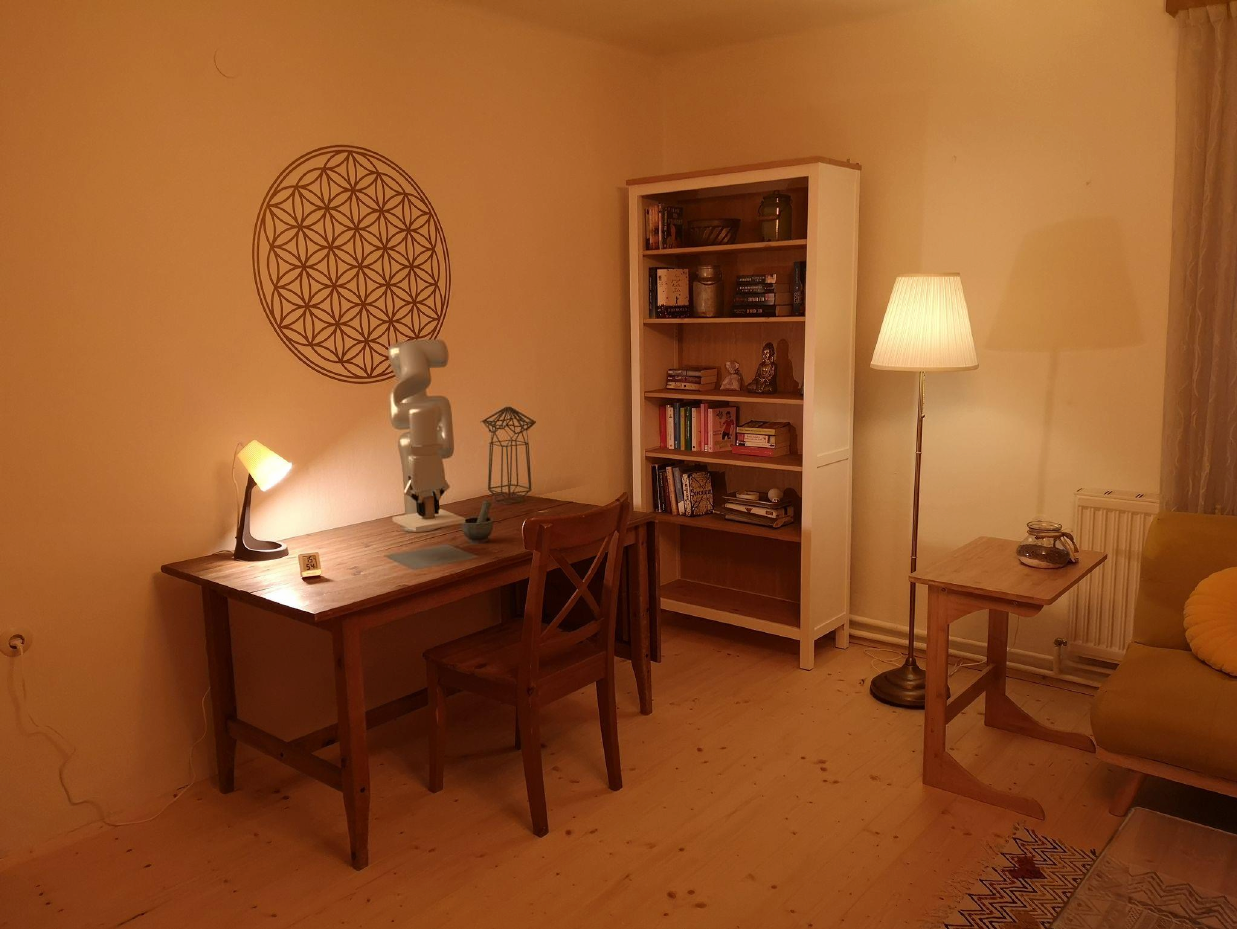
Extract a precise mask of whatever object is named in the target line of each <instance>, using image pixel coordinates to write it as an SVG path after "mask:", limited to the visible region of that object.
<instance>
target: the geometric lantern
mask: <svg viewBox="0 0 1237 929" xmlns="http://www.w3.org/2000/svg"><path fill="white" fill-rule="evenodd" d="M503 415H504V416H503ZM495 416H496V417H495ZM493 417H495V418H494V419H493V420H490V419H492V418H493ZM508 417H509V418H508ZM501 418H502V419H501ZM526 419H527V420H528V421H527V420H526ZM514 420H515V421H516V422H517V424H518V425H516V424H515V421H514ZM498 422H501V423H500V424H498ZM510 422H512V424H510ZM521 422H522V423H521ZM480 423H482V424H484V426H485V427H486V428H487V429H488V432H489V433H491V434H492V435H491V439H490V442H488V444H489V453H488V454H489V455H488V476H487V477H488V481H487V490H488V491H489V492H490V493H491V494H492V495H493V496H494V502H495V503H497V504H503V505H512V504H518V503H523V502H525V497H526V496H527V495H528V494H529V493H530V492H532V478H531V477H532V476H531V460H530V459H531V458H530V443H529V435H528V431H529V430H530V429H531V428H532V427H533V426H534V425H535V424H536V423H537V421H536V420H534V419H532V418H530V417H529V416H527V415H525V414H524V413H522V412H521V411H518V410H517V409H516V408H514V407H512V406H504V407H502V408H501V409H500V410H498V411H496V412H494V413H493V414H491V415H489V416H487V417H486V418H484V419H483V420H480ZM504 423H505V425H504ZM525 426H526V427H525ZM506 427H507V428H508V430H510V431H511V432H512V434H513V435H512V437H511V435H510V434H509V433H508V430H506ZM511 427H513V428H511ZM516 428H520V430H519V431H518V432H516ZM499 430H504V431H505V433H506V434H507V435H508V436H509V438H510V439H506V440H500V439H499V437H498V435H497V432H498V431H499ZM524 432H526V438H525V436H524ZM515 435H516V437H515V439H513V438H514V436H515ZM520 435H521V436H522V439H523V441H522V440H518V437H519V436H520ZM495 437H496V441H494V438H495ZM526 441H527V442H526ZM503 442H507V444H506V445H504V444H502V443H503ZM513 442H514V443H515V444H513ZM517 442H518V443H519V444H517ZM495 443H499V444H495ZM509 443H510V445H509ZM494 446H496V447H497V446H498V447H501V457H500V458H501V462H500V463H501V465H500V467H501V468H500V485H497V486H492V471H493V470H492V469H493V453H494ZM518 446H525V455H526V458H525V459H526V469H527V481H528V486H524V485H519V471H518V470H519V469H518V468H519V467H518V466H519V465H518ZM509 447H510V462H509V450H508V449H509ZM513 447H515V448H514V449H515V470H516V472H515V473H516V475H515V476H516V484H512V471H513V470H512V468H513V467H512V466H513V464H512V463H513ZM504 448H505V450H506V452H505V453H506V454H505V455H506V473H507V474H506V475H507V484H504V485H503V481H504V480H503V476H504V474H503V473H504V470H503V469H504V468H503V467H504ZM509 465H510V466H509ZM509 467H510V468H509ZM511 486H512V487H514V489H513V490H512V492H511ZM504 487H507V490H508V492H503V488H504ZM517 487H519V488H523V489H527V490H520V491H515V490H516V489H517ZM499 488H500V491H497V490H494V489H499ZM495 493H496V494H495ZM521 493H524V494H521ZM505 495H508V496H507V497H508V498H507V497H506V496H505ZM514 495H517V496H515V497H514ZM497 498H500V499H497ZM521 498H522V499H521ZM511 499H512V500H517V501H514V502H511ZM501 501H505V502H501Z"/></svg>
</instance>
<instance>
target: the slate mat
mask: <svg viewBox="0 0 1237 929" xmlns="http://www.w3.org/2000/svg"><path fill="white" fill-rule="evenodd" d="M383 557H385V558H387V559H389V560H391V561H393V562H395V563H397V564H399V565H401V566H404V567H406V568H408V569H410V570H412V571H416V570H422V569H426V568H431V567H436V566H441V565H446V564H452V563H457V562H461V561H467V560H472V559H473V560H474V559H477V558H479V556H477V555H475V554H473V553H470V552H467V551H465V550H463V549H460V548H459V547H458V548H457V547H455V546H453V545H449V544H447V543H446V544H440V545H437V546H436V545H435V546H430V547H424V548H420V549H414V550H407V551H402V552H398V553H392V554H388V555H387V554H386V555H383Z"/></svg>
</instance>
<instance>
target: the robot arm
mask: <svg viewBox="0 0 1237 929" xmlns="http://www.w3.org/2000/svg"><path fill="white" fill-rule="evenodd" d="M387 356H388V361H389V363H390V368H391V369H392V372H393V374H394V376H395V377H396V381H397V382H396V384H395V385H394V386H393V387H392V389H391V391H390V394H389V396H388V409H389V410H388V411H389V420H390V423H391V426H392V427H393V428H394V429H396V430H400V431H403V430H406V432H403V433H401V435H399V437H398V440H397V447H398V448H397V449H398V453H399V456H400V457H399V458H400V462H401V472H402V484H403V487H402V488H403V498H404V501H403V502H404V503H403V504H404V515H408V514H414V513H418V515H419V516H422V517H424V516H425V506H424V503H423V501H422V499H423V496H434V506H435V514H439V509H441V508H440V507H441V506H440V500H442V499H441V497H442V496H443V495H444V494H445V492H447V491H448V490H449V489H450V488H451V486H450V484H449V483H448V481H447V480H446V473H445V467H444V462H443V460H447V459H450V458H451V457H452V456H453V455H454V452H455V439H454V425H453V412H452V406H451V403H450V400H449V398H447V396H444V395H428V394H427V389H429V387H430V386H431V383H432V375H431V369H433V368H434V369H436V368H438V369H439V368H446V366H447V365H448V362H449V359H450V358H449V357H450V356H449V348H448V346H447V344H446V343H445V341H444V340H443V339H439V338H437V339H436V338H435V339H411V340H407V341H398V342H394V343H392V344H390V346H389V347H388V351H387ZM407 430H409V431H407ZM440 528H441V527H437V528H432V529H426V530H421V531H414V530H412V529H409V528H407V527H405V526H403V525H400V529H401V530H402V531H404V532H410V533H420V532H421V533H422V532H423V533H424V532H429V531H435V530H438V529H440Z"/></svg>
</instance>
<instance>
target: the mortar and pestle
mask: <svg viewBox="0 0 1237 929" xmlns="http://www.w3.org/2000/svg"><path fill="white" fill-rule="evenodd" d="M491 506H492V503H491V501H488V500H483V501H482V505H481V510H480V511H479V515H478V516H472V517H468V518H465V523H460V524H461V526H460V527H461V531H462V534H463V535H464V537H466V538H467V539H468V541H467V542H468V543H470V544H480V543H481V544H482V543H486V542H489V537H490V536H491V534H492V533H493V530H494V528H493V527H494V518H493V517H489V513H490V509H491V508H490V507H491Z"/></svg>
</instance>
